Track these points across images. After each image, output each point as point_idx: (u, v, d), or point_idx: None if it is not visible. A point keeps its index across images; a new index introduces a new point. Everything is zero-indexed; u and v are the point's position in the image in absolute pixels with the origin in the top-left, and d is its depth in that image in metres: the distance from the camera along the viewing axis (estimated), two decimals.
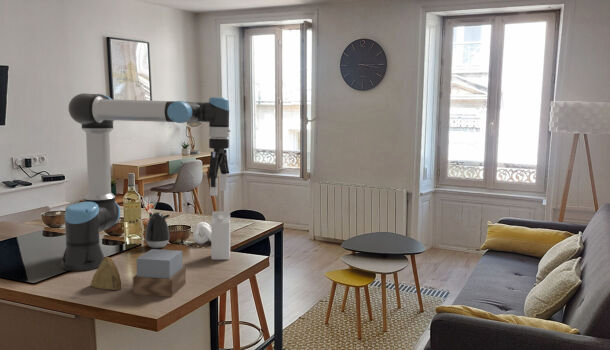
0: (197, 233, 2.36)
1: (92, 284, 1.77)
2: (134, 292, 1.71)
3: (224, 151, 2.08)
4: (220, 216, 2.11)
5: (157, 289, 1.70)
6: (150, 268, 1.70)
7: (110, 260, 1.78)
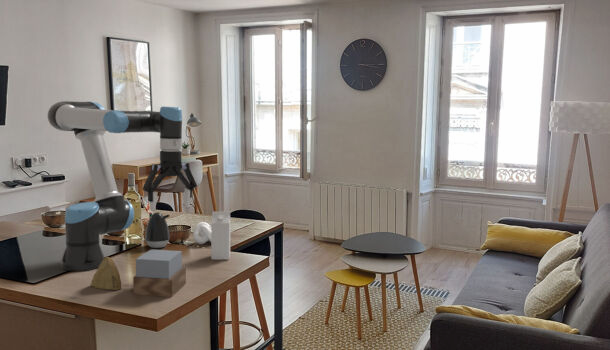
0: (197, 233, 2.36)
1: (92, 284, 1.77)
2: (134, 292, 1.71)
3: (185, 165, 1.92)
4: (220, 216, 2.10)
5: (158, 289, 1.70)
6: (149, 269, 1.69)
7: (110, 260, 1.78)
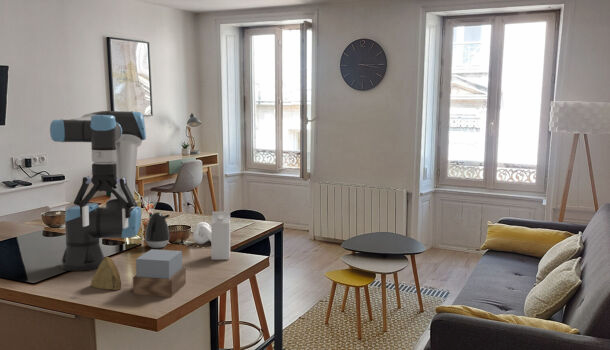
0: (197, 233, 2.36)
1: (92, 284, 1.77)
2: (134, 292, 1.71)
3: (120, 180, 1.71)
4: (220, 216, 2.10)
5: (157, 289, 1.70)
6: (150, 268, 1.70)
7: (110, 260, 1.78)
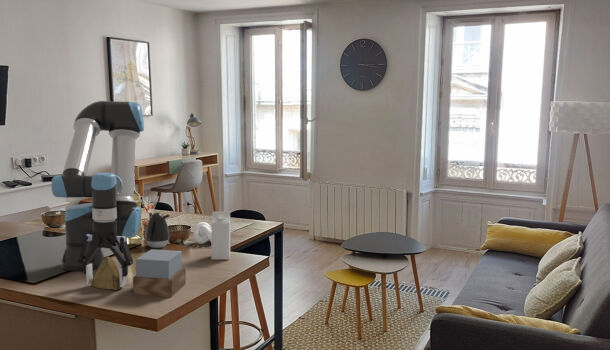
0: (197, 233, 2.36)
1: (92, 284, 1.77)
2: (134, 292, 1.71)
3: None
4: (220, 216, 2.10)
5: (157, 289, 1.69)
6: (149, 269, 1.70)
7: (110, 260, 1.78)
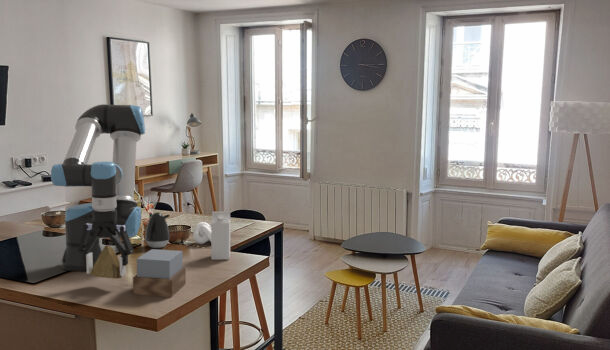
0: (197, 233, 2.36)
1: (93, 273, 1.77)
2: (134, 292, 1.70)
3: None
4: (220, 216, 2.10)
5: (157, 289, 1.69)
6: (150, 268, 1.70)
7: (110, 249, 1.78)
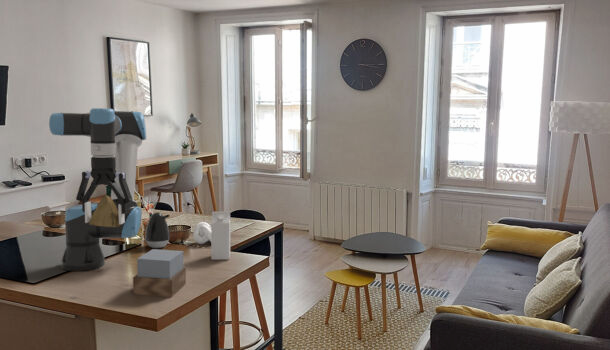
0: (197, 233, 2.36)
1: (91, 222, 1.75)
2: (134, 292, 1.70)
3: (119, 175, 1.70)
4: (220, 216, 2.10)
5: (157, 289, 1.69)
6: (150, 268, 1.70)
7: (109, 198, 1.75)
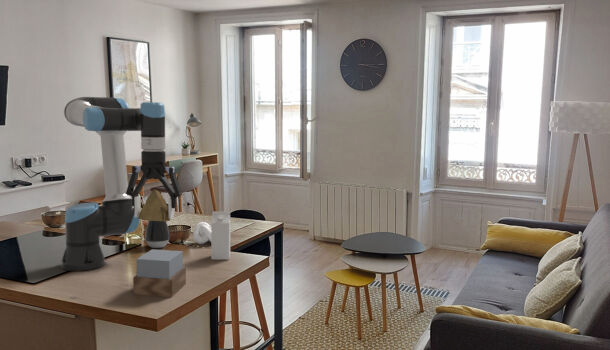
0: (197, 233, 2.36)
1: (140, 217, 1.74)
2: (134, 292, 1.70)
3: None
4: (220, 216, 2.10)
5: (158, 289, 1.69)
6: (150, 269, 1.69)
7: (158, 193, 1.75)
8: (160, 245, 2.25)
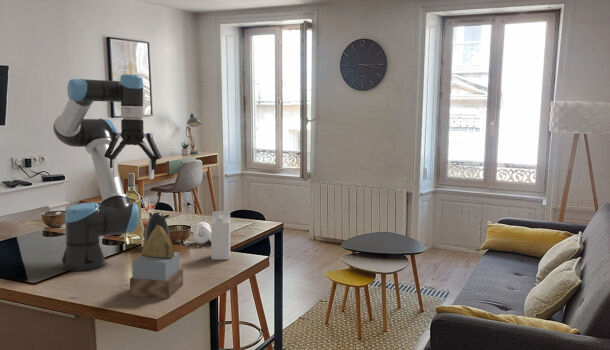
0: (197, 233, 2.36)
1: (143, 253, 1.74)
2: (131, 294, 1.69)
3: (147, 135, 1.86)
4: (220, 216, 2.10)
5: (154, 290, 1.68)
6: (146, 270, 1.68)
7: (162, 228, 1.75)
8: None
